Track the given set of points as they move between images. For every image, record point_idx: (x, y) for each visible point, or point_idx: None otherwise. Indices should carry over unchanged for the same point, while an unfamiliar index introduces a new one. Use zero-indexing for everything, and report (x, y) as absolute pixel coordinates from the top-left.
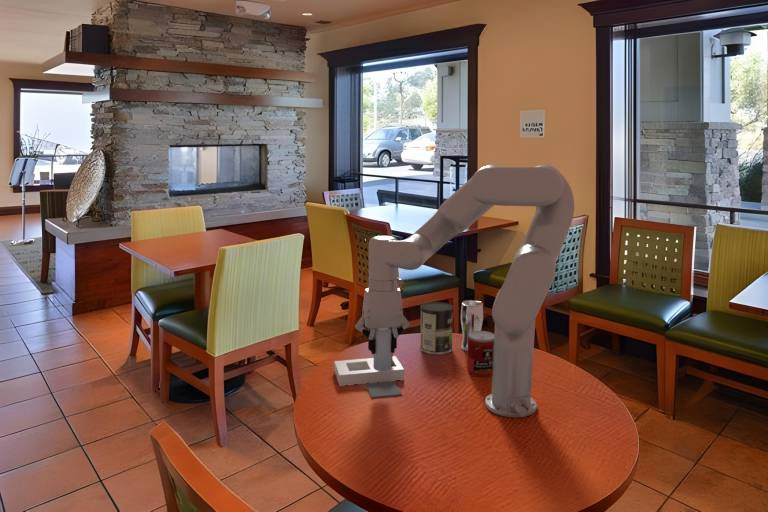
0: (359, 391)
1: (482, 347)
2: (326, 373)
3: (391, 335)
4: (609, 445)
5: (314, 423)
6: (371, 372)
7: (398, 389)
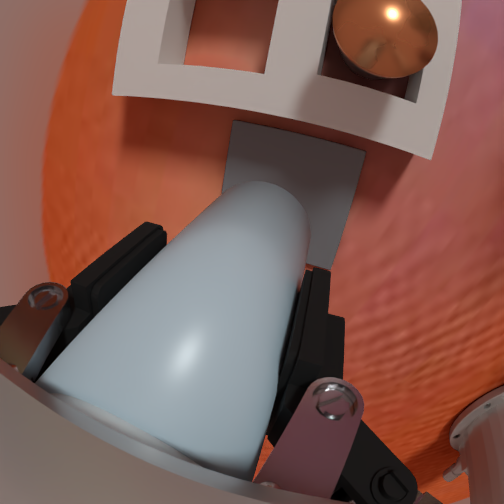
0: (194, 162)
1: None
2: None
3: (278, 410)
4: (466, 491)
5: (67, 282)
6: (253, 110)
7: (339, 232)
